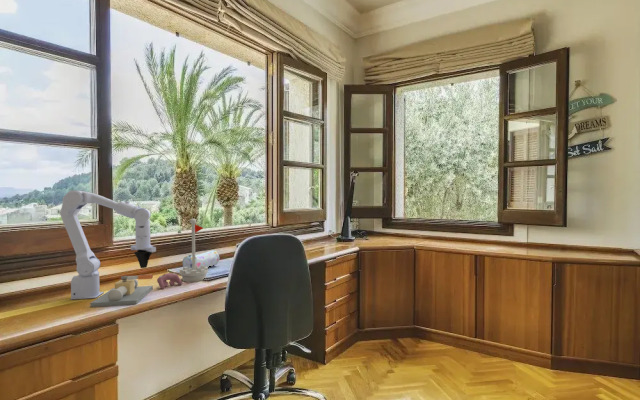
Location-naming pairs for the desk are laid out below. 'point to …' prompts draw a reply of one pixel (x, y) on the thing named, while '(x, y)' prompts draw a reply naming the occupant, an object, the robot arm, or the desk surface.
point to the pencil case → (202, 259)
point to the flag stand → (194, 272)
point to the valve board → (124, 299)
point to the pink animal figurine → (169, 276)
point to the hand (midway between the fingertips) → (143, 267)
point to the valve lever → (138, 277)
